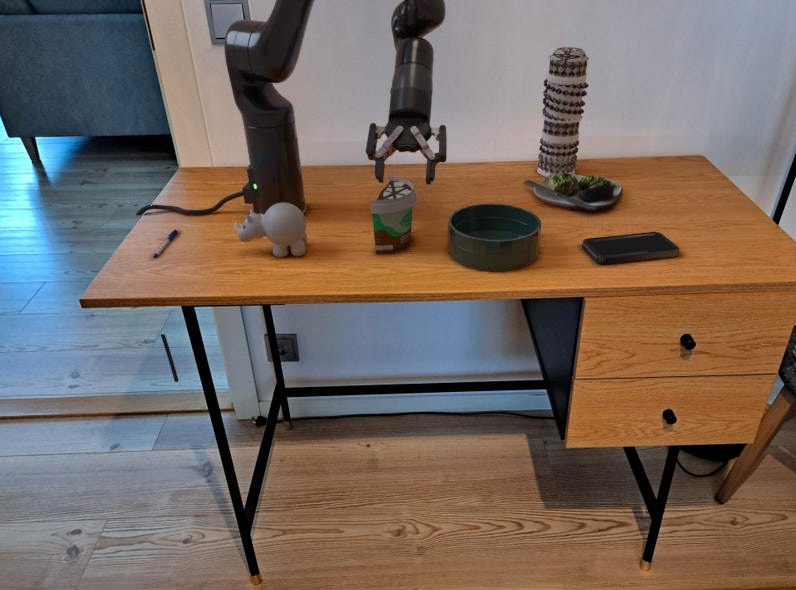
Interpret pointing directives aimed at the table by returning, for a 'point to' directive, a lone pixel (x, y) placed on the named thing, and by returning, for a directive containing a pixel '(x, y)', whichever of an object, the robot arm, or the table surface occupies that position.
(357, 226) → the table surface
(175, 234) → the ballpoint pen
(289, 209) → the round bodied animal figurine
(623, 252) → the phone
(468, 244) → the bowl
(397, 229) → the food container
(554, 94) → the decorative candle
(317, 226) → the table surface
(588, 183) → the salad plate
